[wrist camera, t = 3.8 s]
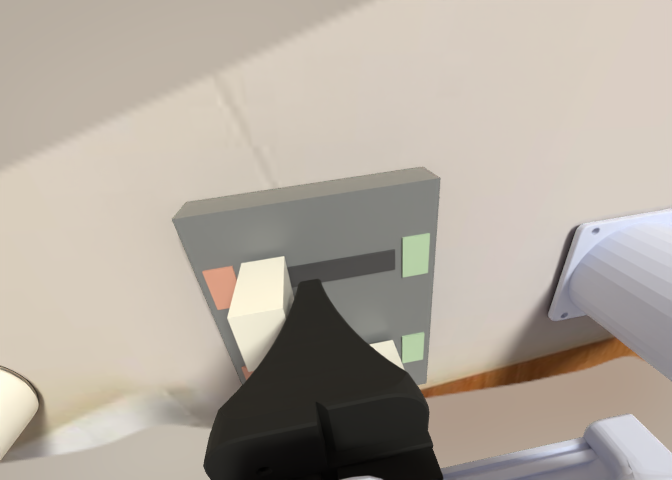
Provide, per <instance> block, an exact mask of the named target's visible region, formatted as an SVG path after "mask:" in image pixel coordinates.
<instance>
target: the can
mask: <svg viewBox="0 0 672 480" xmlns="http://www.w3.org/2000/svg"><path fill="white" fill-rule="evenodd" d="M38 406H39V403H38V397H37V393H36V391H35V390H34V388H33V387H32V385H31V384H30V383H29V382H28V381H27V380H26V379H24V378H23V377H22V376H20V375H19V374H17V373H15V372H13V371H11V370H9V369H7V368H4V367H1V366H0V460H1V459H2V458H3V457H4V455H5V454H6V453H7V451H8V450H9V449H10V447H11V446H12V445H13V443H14V442H15V441H16V439H17V438H18V437H19V435H20V434H21V433H22V431H23V430H24V429H25V427H26V426H27V425H28V423H29V422H30V420H31V419H32V418H33V416H34V415H35V413H36V412H37V410H38Z"/></svg>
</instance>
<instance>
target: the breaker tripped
mask: <svg viewBox="0 0 672 480" xmlns="http://www.w3.org/2000/svg"><path fill="white" fill-rule="evenodd" d="M293 301H294V296H293V291H292V287H291V283H290V278H289V274H288V270H287V266H286V261H285V257H284V256H282V257H276V258H270V259H264V260H258V261H252V262H246V263H241V267H240V271H239V274H238V278H237V282H236V286H235V290H234V294H233V297H232V301H231V305H230V309H229V313H228V317H227V319H228V321H229V324H230V327H231V329H232V332H233V334H234V337H235V339H236V342H237V344H238V347H239V349H240V352H241V354H242V357H243V359H244V362H245V364H246V367H247V370H248V372H251V371H254V370H255V369H256V368H257V367H258V365H259V364H260V363H261V361H262V360H263V358H264V357H265V355H266V354H267V352H268V351H269V350H270V348H271V346H272V345H273V343H274V341H275V340H276V338H277V336H278V334H279V333H280V331H281V329H282V327H283V325H284V323H285V321H286V318H287V316H288V314H289V312H290V309H291V307H292V304H293Z"/></svg>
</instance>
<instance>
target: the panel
mask: <svg viewBox="0 0 672 480" xmlns="http://www.w3.org/2000/svg"><path fill="white" fill-rule="evenodd" d="M439 191H440V177H438V176H437V175H435V174H434V173H432V172H430V171H429V170H427V169H426V168H424V167H418V168H411V169H404V170H398V171H391V172H384V173H378V174H371V175H364V176H358V177H351V178H344V179H338V180H331V181H324V182H318V183H311V184H305V185H298V186H291V187H285V188H278V189H271V190H265V191H258V192H251V193H245V194H238V195H231V196H225V197H218V198H211V199H205V200H198V201H191V202H186V203H185V204H184V205H183V207H182V208H181V209H180V210H179V211H178V212H177V214H176V215H175V216H174V217H173V218H172V221H173V223H174V226H175V228H176V230H177V233H178V235H179V237H180V240H181V242H182V244H183V247H184V249H185V251H186V254H187V256H188V259H189V261H190V263H191V266H192V268H193V270H194V273H195V275H196V277H197V280H198V282H199V284H200V287H201V289H202V291H203V294H204V296H205V298H206V301H207V303H208V305H209V308H210V310H211V313H212V315H213V317H214V320H215V322H216V324H217V327H218V329H219V331H220V334H221V336H222V338H223V341H224V343H225V345H226V348H227V350H228V352H229V355H230V357H231V360H232V362H233V364H234V367H235V369H236V371H237V374H238V376H239V378H240V381H241V383H242V385H243V384H244V383H245V381H246V380H247V379H248V378H249V377H250V375H251V374H252V373H253V372H254V371H251V372H248V370H247V367H246V364H245V362H244V359H243V357H242V354H241V352H240V349H239V347H238V344H237V342H236V339H235V337H234V334H233V332H232V329H231V327H230V324H229V321H228V319H227V317H228V313H229V309H230V305H231V301H232V297H233V294H234V290H235V286H236V282H237V278H238V274H239V271H240V267H241V263H246V262H252V261H258V260H264V259H270V258H276V257H282V256H284V257H285V261H286V266H287V270H288V274H289V278H290V283H291V287H292V291H293V296H294V298H295V295H296V292H297V288H298V284H299V283H300V282H301V281H307V280H312V279H320V280H321V283H322V286H323V288H324V290H325V292H326V294H327V296H328V297H329V299H330V301H331V302H332V304H333V305H334V307H335V308H336V309H337V311H338V312H339V313H340V315H341V316H342V317H343V318H344V320H345V321H346V322H347V323H348V324H349V326H350V327H351V328H352V329H353V330H354V331H355V332H356V333H357V334H358V335H359V336H360V337H361V338H362V339H363V340H364V341H366V342H367V343H368V344H374V343H379V342H384V341H390V340H393V342H394V344H395V347H396V349H397V352H398V354H399V357H400V359H401V362H402V364H403V367H404V369H405V371H407V372H408V373H409V374H410V376H411V377H412V379H413V380H414V381H415V383H416V384H417V385H420V384H425V383H426V380H427V366H428V351H429V337H430V322H431V307H432V293H433V278H434V264H435V249H436V235H437V220H438V205H439Z"/></svg>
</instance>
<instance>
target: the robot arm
mask: <svg viewBox="0 0 672 480" xmlns="http://www.w3.org/2000/svg"><path fill="white" fill-rule="evenodd" d="M585 315H588V316H589V317H591V318H592V319H593V320H594V321H596V322H597V323H598V324H600V325H601V326H602V327H603V328H605V329H606V330H607V331H608V332H610V333H611V334H612V335H613V336H615V337H616V338H617V339H619V340H620V341H621V342H622V343H624V344H625V345H626V346H627V347H629V348H630V349H631V350H632V351H634V352H635V353H636V354H638V355H639V356H640V357H641V358H643V359H644V360H645V361H646V362H648V363H649V364H650V365H652V366H653V367H654V368H655V369H657V370H658V371H659V372H660V373H662V374H663V375H664V376H666V377H667V378H668V379H669V380H671V381H672V208H671V209H665V210H659V211H653V212H647V213H642V214H636V215H630V216H624V217H618V218H612V219H606V220H601V221H595V222H589V223H584V224H582V225H580V226H579V227H578V228H577V230H576V232H575V235H574V238H573V241H572V244H571V247H570V250H569V253H568V256H567V259H566V262H565V265H564V268H563V271H562V274H561V277H560V280H559V283H558V286H557V289H556V292H555V295H554V298H553V301H552V304H551V307H550V310H549V313H548V317H549V318H550V319H551V320H552V321H559V320H565V319H570V318H575V317H580V316H585ZM428 422H429V407H428V404H427V402H426V400H425V398H424V396H423V394H422V393H421V391H420V389H419V387H418V386H417V384H416V383H415V381H414V380H413V379H412V377H411V376H410V374H409V373H408V372H407V371H405V370H403V369H402V368H400V367H398V366H397V365H395V364H394V363H392V362H391V361H389V360H388V359H387V358H385V357H384V356H383V355H381V354H380V353H379V352H377V351H376V350H375V349H374V348H373V347H371V346H370V345H369V344H368V343H367V342H366V341H364V340H363V339H362V338H361V337H360V336H359V335H358V334H357V333H356V332H355V331H354V330H353V329H352V328H351V327H350V326H349V324H348V323H347V322H346V321H345V320H344V318H343V317H342V316H341V315H340V313H339V312H338V311H337V309H336V308H335V307H334V305H333V304H332V302H331V301H330V299H329V297H328V296H327V294H326V292H325V290H324V288H323V286H322V283H321V280H320V279H312V280H307V281H301V282H300V283H299V284H298V288H297V292H296V295H295V298H294V301H293V304H292V307H291V309H290V312H289V314H288V316H287V318H286V321H285V323H284V325H283V327H282V329H281V331H280V333H279V334H278V336H277V338H276V340H275V341H274V343H273V345H272V346H271V348H270V350H269V351H268V352H267V354H266V355H265V357H264V358H263V360H262V361H261V363H260V364H259V365H258V367H257V368H256V369H255V370H254V372H253V373H252V374H251V375H250V377H249V378H248V379H247V380H246V381H245V383H244V384H243V385H242V386H241V387H240V388H239V390H238V391H237V392H236V393H235V394H234V395H233V396H232V397H231V398H230V399H229V400H228V401H227V402H226V403H225V404H224V405H223V406H222V407H221V408H220V409H219V410H218V413H217V416H216V418H215V421H214V424H213V427H212V430H211V433H210V437H209V440H208V445H207V450H206V455H205V459H204V465H203V466H204V469H205V472H206V474H207V475H208V477H209V478H210V479H211V480H672V453H671V452H670V451H669V450H668V449H667V448H666V447H665V446H664V445H663V444H662V443H661V442H660V441H659V440H658V439H657V438H656V437H655V436H654V435H653V434H652V433H651V432H650V431H649V430H648V429H646V427H644V426H643V425H642V424H641V423H640V422H639V421H638V420H637V419H636V418H635V417H634V416H633V415H632V414H623V415H618V416H614V417H609V418H605V419H601V420H597V421H595V422H593V423H591V424H590V425H589V426H588V427H587V428H586V429H585V432H584V436H583V437H580V438H575V439H571V440H566V441H562V442H558V443H553V444H548V445H544V446H540V447H535V448H531V449H526V450H522V451H518V452H513V453H508V454H504V455H499V456H495V457H491V458H486V459H482V460H477V461H473V462H468V463H464V464H459V465H455V466H450V467H446V468H441V469H440V467H439V464H438V462H437V459H436V456H435V454H434V451H433V449H432V448H433V443H432V440H431V437H430V435H429V432H428Z"/></svg>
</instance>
